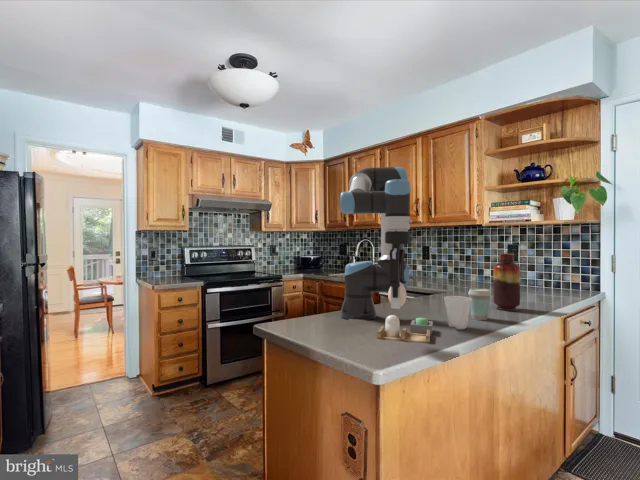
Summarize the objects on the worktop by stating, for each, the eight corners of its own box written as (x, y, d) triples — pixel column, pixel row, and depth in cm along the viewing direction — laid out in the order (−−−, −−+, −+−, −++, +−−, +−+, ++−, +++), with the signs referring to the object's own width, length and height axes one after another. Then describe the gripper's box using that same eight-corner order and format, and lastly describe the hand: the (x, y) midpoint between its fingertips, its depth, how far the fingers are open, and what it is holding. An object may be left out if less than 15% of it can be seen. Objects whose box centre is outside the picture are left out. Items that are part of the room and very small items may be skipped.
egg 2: (384, 337, 115) (384, 315, 115) (386, 333, 120) (386, 313, 120) (398, 338, 114) (398, 316, 114) (400, 334, 118) (400, 314, 118)
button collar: (410, 336, 120) (410, 324, 120) (412, 331, 127) (412, 319, 127) (432, 338, 118) (432, 326, 118) (432, 332, 124) (432, 321, 124)
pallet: (377, 341, 114) (377, 331, 114) (381, 334, 122) (381, 325, 122) (429, 346, 109) (429, 336, 109) (430, 338, 117) (430, 329, 117)
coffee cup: (486, 316, 151) (486, 288, 151) (494, 321, 142) (494, 291, 142) (465, 316, 152) (465, 288, 152) (471, 320, 143) (471, 291, 143)
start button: (415, 332, 121) (415, 319, 121) (416, 330, 125) (416, 317, 125) (427, 334, 120) (427, 320, 120) (428, 331, 123) (428, 318, 123)
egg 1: (388, 308, 107) (388, 282, 107) (388, 305, 112) (388, 280, 112) (406, 309, 106) (406, 282, 106) (406, 305, 111) (406, 280, 111)
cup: (471, 325, 135) (471, 296, 135) (473, 332, 126) (473, 300, 126) (443, 323, 138) (443, 295, 138) (443, 329, 129) (443, 299, 129)
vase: (498, 306, 175) (498, 253, 175) (523, 309, 167) (523, 253, 167) (490, 309, 167) (490, 253, 167) (516, 312, 159) (516, 254, 159)
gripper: (405, 230, 99) (405, 313, 99) (413, 230, 116) (413, 301, 116) (379, 230, 101) (379, 311, 102) (390, 231, 119) (390, 300, 119)
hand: (397, 306), depth 109 cm, fingers closed on egg 1, 5 cm apart
